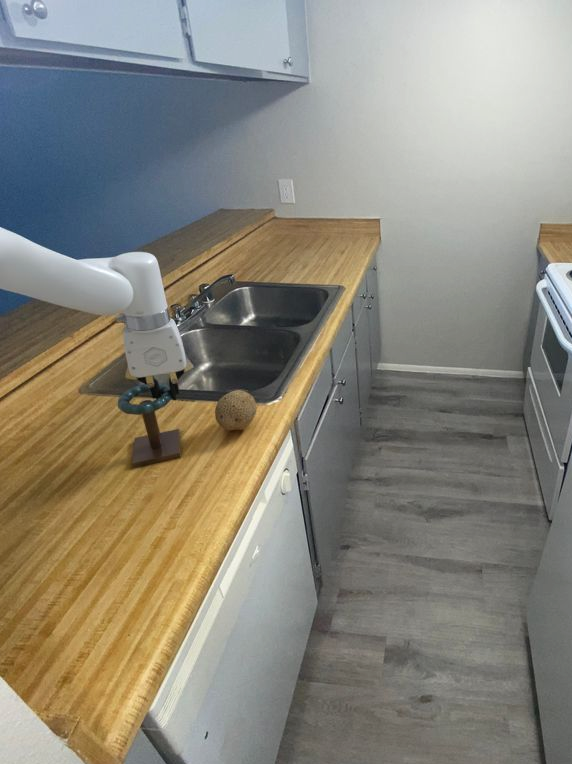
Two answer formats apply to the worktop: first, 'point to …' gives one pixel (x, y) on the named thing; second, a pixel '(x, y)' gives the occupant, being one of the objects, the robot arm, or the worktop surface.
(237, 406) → the natural sponge
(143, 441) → the post
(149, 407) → the ring
